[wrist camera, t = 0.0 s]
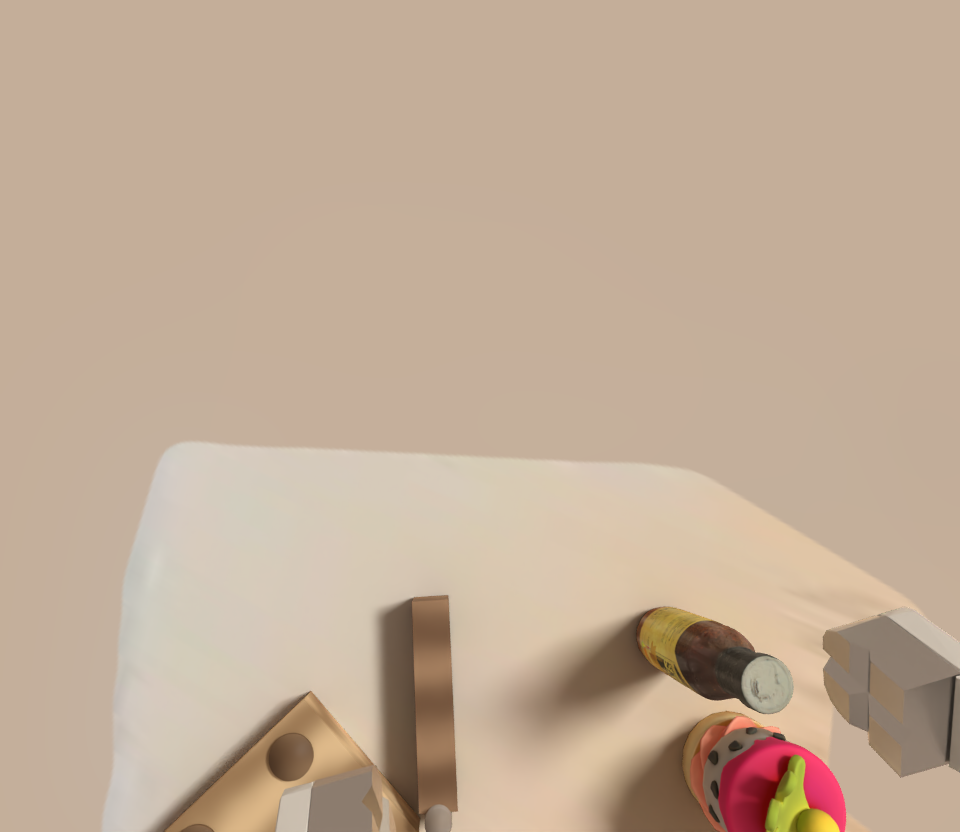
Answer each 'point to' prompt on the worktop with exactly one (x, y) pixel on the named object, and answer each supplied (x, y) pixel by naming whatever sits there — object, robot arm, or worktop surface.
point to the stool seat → (284, 775)
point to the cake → (759, 779)
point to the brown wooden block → (434, 712)
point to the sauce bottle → (713, 660)
